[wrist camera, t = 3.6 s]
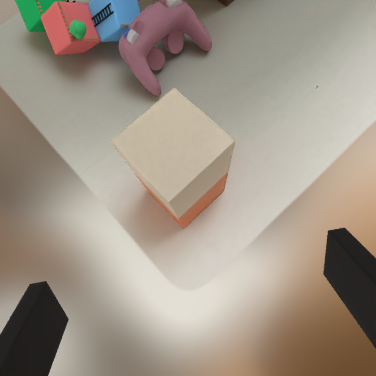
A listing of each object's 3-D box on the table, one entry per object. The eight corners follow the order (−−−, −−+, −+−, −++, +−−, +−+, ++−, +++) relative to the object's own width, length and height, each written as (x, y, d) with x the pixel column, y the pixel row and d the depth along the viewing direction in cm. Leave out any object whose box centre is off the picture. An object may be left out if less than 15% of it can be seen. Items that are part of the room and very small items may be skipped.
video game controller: (193, 43, 34) (170, -18, 29) (217, 47, 31) (196, -20, 26) (138, 92, 33) (103, 37, 27) (157, 101, 30) (122, 41, 24)
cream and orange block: (224, 190, 27) (235, 140, 16) (184, 228, 26) (168, 202, 15) (186, 154, 28) (174, 87, 18) (147, 189, 27) (109, 141, 17)
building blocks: (94, 60, 38) (148, 27, 30) (39, 66, 33) (88, 27, 25) (72, -1, 36) (124, -54, 28) (9, -6, 30) (52, -75, 22)
